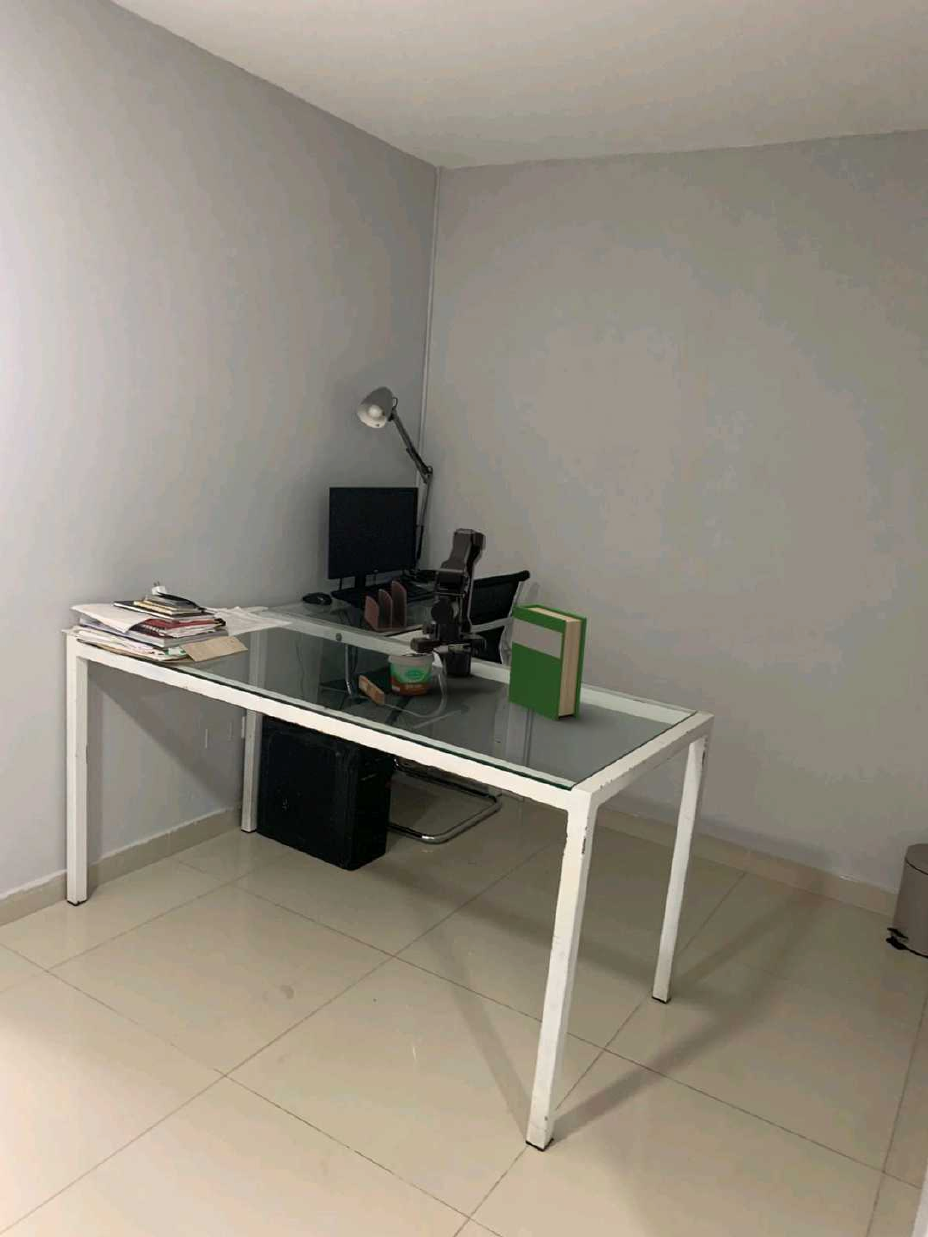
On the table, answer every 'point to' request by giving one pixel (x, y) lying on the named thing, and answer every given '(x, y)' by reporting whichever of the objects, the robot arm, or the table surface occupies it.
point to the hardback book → (547, 660)
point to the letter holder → (387, 610)
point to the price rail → (371, 690)
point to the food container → (411, 673)
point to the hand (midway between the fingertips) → (447, 676)
